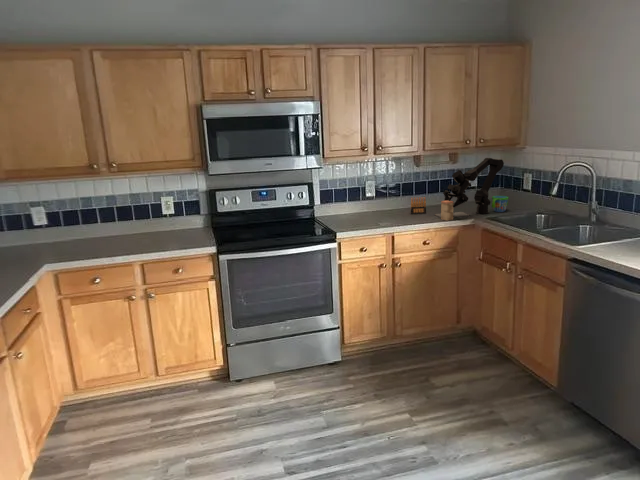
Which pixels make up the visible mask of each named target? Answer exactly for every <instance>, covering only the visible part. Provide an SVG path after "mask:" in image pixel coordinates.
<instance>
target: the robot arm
mask: <svg viewBox="0 0 640 480" xmlns="http://www.w3.org/2000/svg"><path fill="white" fill-rule="evenodd" d="M504 164H505V162H504V160H503V159H502V158H501V159H498V158H492V157H485V158H484V159H483V160H482V161H480V163H478V164H477V165H476V166H475V167H474V168H472V169H469V170H467V171H465V172H464V173H463V172H462V170H461V169H458V170H457V171H455V172H454V173H452V175H451V178H453V180H454V181H455V182H456V183H457V184H448V186H447V190H444V191H443V192H442V194H443V196H444V200H443V201H446V200H449V201H452V199H453V198H456V200H455V202H454V204H453V208H456V207H458V206H459V205H462V204H464V203H467V202H468V201H469V196H468V195H467V194H466V190H467V189H468V188H469V187H472V182H474V181H476V180H477V178H478V177H479V174H480V173H482V172H483V171H484V170H485V169H486V168H487V167H488V166H489V172H488V174H487V176H486V178H485V179H484V182H483V184H482V186H481V188H480V189H477V190H476V192H475V193H474V201H475V205H476V212H475V213H476V214H479V215H486V214H487V215H488V214H490V212H489V205H491V201H490V199H489V190H490V188H491V186H492V184H493V182H494V180H495V178H496V175H497V174H498V173H499V172H500V171H501V170H502V169H503V167H504Z"/></svg>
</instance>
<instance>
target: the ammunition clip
mask: <svg viewBox="0 0 640 480" xmlns="http://www.w3.org/2000/svg"><path fill="white" fill-rule="evenodd" d="M426 201H427V200H426V197H425V196H424V197H423V196H421V197H420V196H419V197H411V201H410V215H426V214H427V202H426Z"/></svg>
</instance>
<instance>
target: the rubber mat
mask: <svg viewBox="0 0 640 480" xmlns="http://www.w3.org/2000/svg"><path fill="white" fill-rule="evenodd" d="M434 216H436V217H437V218H439V219H441V213H435V214H434ZM469 216H470V214H469V213H466V212H463V211H459V212H458V211H456V212H453V218H459V217H462V218H463V217H469Z"/></svg>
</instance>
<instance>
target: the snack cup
mask: <svg viewBox="0 0 640 480" xmlns="http://www.w3.org/2000/svg"><path fill="white" fill-rule="evenodd" d="M491 199H492V201H491V208H493V211H494V212H497V213H503V212H506V209H507V206H508V205H509V196H506V195H493V196H492V197H491Z"/></svg>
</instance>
